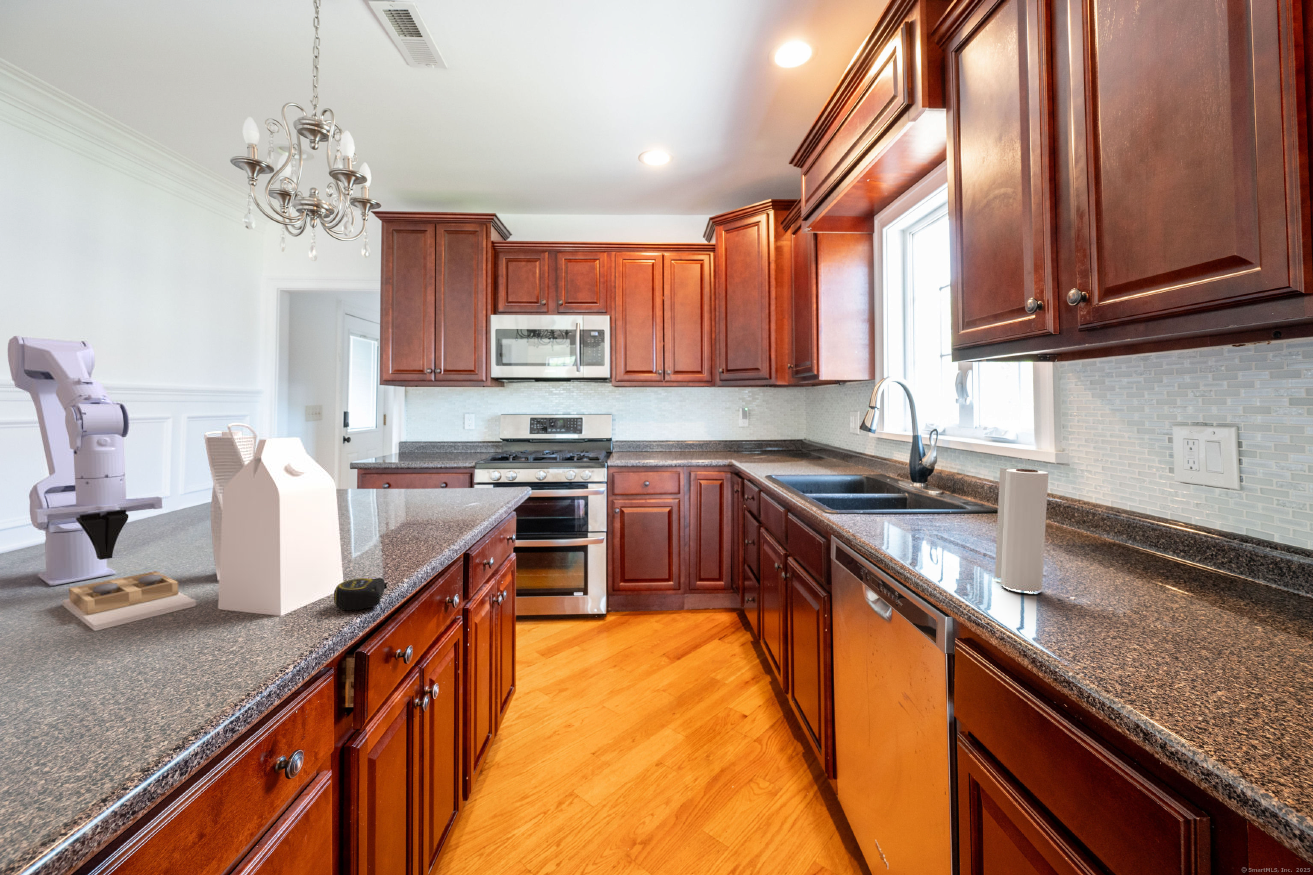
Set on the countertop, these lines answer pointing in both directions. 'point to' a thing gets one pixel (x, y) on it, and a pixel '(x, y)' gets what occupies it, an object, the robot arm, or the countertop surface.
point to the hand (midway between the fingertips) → (104, 557)
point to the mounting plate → (130, 607)
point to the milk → (279, 532)
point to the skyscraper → (225, 472)
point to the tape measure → (359, 593)
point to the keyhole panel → (122, 593)
